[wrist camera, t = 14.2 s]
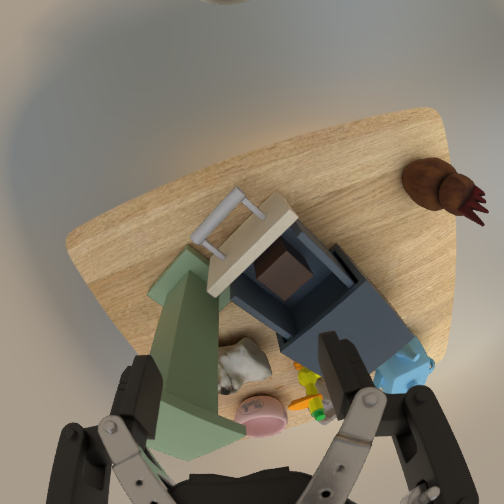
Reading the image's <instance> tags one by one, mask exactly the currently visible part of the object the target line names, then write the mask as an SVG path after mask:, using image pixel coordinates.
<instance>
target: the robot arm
mask: <svg viewBox="0 0 504 504" xmlns="http://www.w3.org/2000/svg"><path fill="white" fill-rule="evenodd" d="M318 362H319V366H320V369H321V372H322V375H323V378H324V381H325V384H326V387H327V390H328V392H329V395H330V398H331V401H332V404H333V407H334V410H335V413H336V416H337V419H338V421H339V420H342V419H345V420H344V422H343V424H342V426H341V428H340V430H339V432H338V434H336V436H335V437H334V439H333V441H332V443H331V445H330V447H329V449H328V450H327V452H326V454H325V456H324V458H323V460H322V461H321V463H320V465H319V467H318V468H317V470H316V472H315V473H314V475H313V476H312V475H309V474H306V473H302V472H296V471H289V467H288V466H287V467H281V468H275V469H267V470H262V471H259V472H256V473H253V474H250V475H247V476H244V477H240V478H234V477H228V476H222V475H216V474H190V475H189V479H188V480H185V481H182V482H180V483H178V484H176V483H174V481H173V480H172V479H171V478H170V477H169V476H168V475H167V474H166V473H165V471H164V470H163V469H162V467H161V466H160V464H159V463H158V462H157V460H156V459H155V457H154V456H153V455H152V453H151V452H150V450H149V449H148V447H147V446H146V442H147V439H148V440H155V435H156V427H157V421H158V414H159V408H160V401H161V395H162V389H163V378H162V375H161V373H160V371H159V369H158V367H157V365H156V363H155V361H154V359H153V357H152V356H151V355H137V356H135V358H134V361H133V364H132V366H128V367H127V368H126V369H125V370H124V372H123V373H122V375H121V378H120V384H119V385H118V388H117V389H118V390H117V391H116V395H115V398H114V402H113V405H112V409H111V413H110V415H109V416H106V417H105V418H103V419H102V420H101V421H100V423H99V425H97V426H93V427H88V428H83V427H82V426H80V425H79V424H78V423H69V424H67V425H66V426H65V427H64V428H63V429H62V431H61V435H60V439H59V442H58V447H57V450H56V455H55V459H54V463H53V467H52V473H51V477H50V482H49V488H48V494H47V500H46V504H108V494H109V484H110V475H111V466H112V463H113V464H114V465H113V466H112V469H113V471H114V473H115V475H116V477H117V479H118V480H119V482H120V483H121V486H122V487H123V489H124V491H125V492H126V494H127V495H128V497H129V499H130V500H131V502H132V503H133V504H356V503H355V502H353V501H351V500H350V499H348V496H349V494H350V492H351V490H352V488H353V486H354V484H355V482H356V480H357V478H358V475H359V474H360V471H361V469H362V467H363V465H364V463H365V460H366V458H367V455H368V453H369V451H370V449H371V446H372V442H373V439H374V437H377V436H392V439H393V442H394V445H395V448H396V451H397V454H398V457H399V460H400V463H401V466H402V469H403V472H404V475H405V479H406V482H407V486H408V489H409V492H408V493H407V494H406V495H405V496H404V497H403V498H402V500H401V502H400V504H479V497H478V494H477V491H476V488H475V485H474V482H473V480H472V477H471V475H470V472H469V469H468V467H467V464H466V462H465V459H464V457H463V454H462V452H461V450H460V447H459V445H458V443H457V440H456V438H455V436H454V434H453V432H452V430H451V427H450V425H449V423H448V421H447V419H446V417H445V415H444V413H443V411H442V409H441V406H440V405H439V402H438V400H437V399H436V397H435V395H434V393H433V391H432V390H431V389H430V388H429V387H427V386H424V385H415V386H413V387H411V388H410V389H408V391H407V392H406V393H399V394H388V393H384V392H383V391H382V390H380V389H378V388H376V386H375V385H374V383H373V381H372V379H371V377H370V375H369V373H368V371H367V369H366V367H365V365H364V363H363V361H362V359H361V357H360V355H359V353H358V351H357V349H356V347H355V345H354V344H353V343H352V342H351V341H349V340H348V339H347V338H346V339H342V340H339V338H338V336H337V334H336V332H335V330H333V331H328V332H323V333H319V335H318Z"/></svg>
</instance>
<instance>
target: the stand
mask: <svg viewBox="0 0 504 504" xmlns="http://www.w3.org/2000/svg"><path fill="white" fill-rule="evenodd" d="M209 264H210V261H209V260H208V259H207V258H205V257H204V256H203V255H201V254H200V253H199V252H198V251H196V250H195V249H194V248H193V247H191V246H190V245H189V244H187V246H186V247H185V248H184V249H183V250H182V251H181V252H180V253H179V255H178V256H177V257H176V258H175V259H174V260H173V262H172V263H171V264H170V265H169V266H168V267H167V268H166V270H165V271H164V272H163V273H162V274H161V275H160V277H159V278H158V279H157V280H156V281H155V283H154V284H153V285H152V286H151V287H150V289H149V291H148V293H147V296H148V297H150V298H151V299H153V300H154V301H156V302H157V303H158V304H160V305H161V306H163V309H162V312H161V316H160V319H159V322H158V326H157V329H156V333H155V337H154V340H153V344H152V348H151V351H150V355H151V356H152V357H153V359H154V361H155V363H156V365H157V367H158V369H159V371H160V373H161V375H162V378H163V389H162V395H161V401H160V408H159V414H158V421H157V427H156V435H155V440H148V439H147V442H146V446H147V447H149V448H152V449H154V450H157V451H160V452H163V453H165V454H168V455H171V456H174V457H176V458H179V459H182V460H185V461H190V460H192V459H195V458H197V457H200V456H202V455H205V454H207V453H210V452H212V451H215V450H217V449H219V448H221V447H224V446H226V445H228V444H230V443H233V442H235V441H237V440H239V439H241V438H243V437H245V436H247V434H246V426H245V425H242V424H240V423H237V422H234V421H232V420H229V419H227V418H224V417H222V416H219V415H218V332H219V312H220V311H221V310H222V309H223V308H224V307H225V306H226V305H227V304H228V303H229V302H231V300H230V285H229V286H228V287H227V288H226V289H224V290H223V291H222V292H221V293H220V294H219V295H218V296H217V297H216V298H215V297H213V296H212V295H210V294H209V293H208V292H207V283H208V273H209Z"/></svg>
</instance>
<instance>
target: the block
mask: <svg viewBox="0 0 504 504" xmlns="http://www.w3.org/2000/svg"><path fill="white" fill-rule="evenodd" d="M253 263H254V269H255V274H256V279H257V280H258V281H259V282H261V283H262V284H263V285H264V286H266V287H267V288H268V289H270V290H271V291H272V292H273V293H275V294H276V295H277V296H279V297H280V298H281V299H282V300H284V301H286V300H287V299H288V298H289V297H290V296H291V295H292V294H293V293H295V292H296V291H297V290H298V289H299V288H300V287H301V286H302V285H304V284H305V283H306V282H307V281H308V280H309V279H310V278H311V277H312V276H313V275H314V274H313V272H312V271H311V269H310V267H309V265H308V263H307V261H306V259H305V258H304V256H303V255H301V254H300V253H299V252H298V251H297V250H296V249H295V248H294V247H293V246H292V245H291V244H289V243H288V242H287V241H286V240H285V239H284V238H283V237H282V236H281V235H280V236H279V237H278V238H277V239H276V240H275V241H274V242H273V243H272V244H271V245H270V246H269V247H268V248H267V249H266V250H265V251H264V252H263V253H262V254H261V255H260V256H259V257H258V258H257V259H256V260H255V261H254V262H253Z"/></svg>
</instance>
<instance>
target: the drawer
mask: <svg viewBox="0 0 504 504" xmlns="http://www.w3.org/2000/svg"><path fill="white" fill-rule="evenodd" d="M240 202H242V203H243V204H244V205H245V206H246V207H247V208H249V209H250V210H251V211H252V212H253V213H252V214H251V215H250V216H249V217H248V218H247V220H246V221H245V222H244V223H243V224H242V225H241V226H240V227H239V228H238V229H237V230H236V231H235V232H234V233H233V234H232V235H231V236H230V237H229V238H228V239H227V240H226V241H225V242H224V243H223V244H222V245H221V246H220V247H219V248H217V247H215V246H214V245H213V244H212V243H210V242H209V241H208V240H207V239H206V238H207V237H208V236H209V235H210V234H211V233H212V232H213V230H214V229H215V228H216V227H217V226H218V225H219V224H220V223H221V222H222V221H223V220H224V219H225V218H226V217H227V216H228V215H229V213H230V212H231V211H232V210H233V209H234V208H235V207H236V206H237V205H238V204H239V203H240ZM298 218H299V217H298V216H297V214H296V213H295V211H294V210H293V209H292V207H291V206H290V205H289V204H288V202H287V201H286V200H285V198H284V197H283V196H282V195H281V194H280V193H279V192H278V191H277V190H275V191H274V192H273V193H272V194H271V195H270V196H269V197H268V198H267V199H266V200H265V201H264V202H263V203H262V204H261V205H260V206H259V207H258V208H257V207H256V206H255V205H254V204H253V203H252V202H251V201H250V200H249V199H247V198H246V194H245V193H244V192H243V191H242V190H241V189H240V188H239V187H237V186H235V188H234V189H233V190H232V191H231V192H230V193H229V194H228V195H227V196H226V197H225V198H224V199H223V200H222V201H221V202H220V203H219V205H218V206H217V207H216V208H215V209H214V210H213V211H212V212H211V213H210V214H209V215H208V217H207V218H206V219H205V220H204V221H203V222H202V223H201V224H200V225H199V226H198V228H197V229H196V230H195V231H194V232H193V233H192V234H191V236H190V238H191V240H192V241H193V242H194V243H195V244H197V245H201V243H202V245H203V246H204V247H205V248H207V249H208V250H209V251H210V252H212V253H213V255H212V256H211V257H210V264H209V273H208V283H207V292H208V293H209V294H210V295H212V296H213V297H215V298H216V297H217V296H218V295H219V294H220V293H221V292H222V291H223V290H224V289H226V288H227V287H228V286H229V285H230V300H231V301H232V302H234V303H235V304H236V305H238V306H239V307H241V308H242V309H243V310H245V311H246V312H248V313H249V314H251V315H252V316H253V317H255V318H256V319H258V320H259V321H261V322H262V323H264V324H265V325H266V326H268V327H269V328H271V329H272V330H274V331H275V332H277V333H278V334H280V335H281V336H283V337H284V338H286V339H287V340H290V339H291V338H293V337H294V336H295V335H296V334H298V333H299V332H300V331H301V330H303V329H304V328H305V327H306V326H308V325H309V324H310V323H311V322H312V321H314V320H315V319H316V318H317V317H319V316H320V315H321V314H322V313H323V312H324V311H326V310H327V309H328V308H329V307H330V306H331V305H333V304H334V303H335V302H336V301H337V300H338V299H340V298H341V297H342V296H343V295H344V294H345V293H346V292H348V291H349V290H350V289H351V288H352V287H353V286H354V285H355V284H356V282H355V281H354V279H353V278H352V277H351V275H350V274H349V272H348V271H347V270H346V268H345V267H344V266H343V264H342V263H341V262H340V261H339V260H338V259H337V258H336V257H335V256H334V255H333V254H332V253H331V252H330V251H329V250H328V249H327V248H326V247H325V246H324V245H323V244H322V243H321V242H320V241H319V240H318V239H317V238H316V237H315V236H314V235H313V234H312V233H311V232H310V231H309V230H308V229H307V228H306V227H305V226H304V225H303V224H302V223H301V222H300V221H299V220H298ZM280 235H281V236H282V237H283V238H284V239H285V240H286V241H287V242H288V243H289V244H291V245H292V246H293V247H294V248H295V249H296V250H297V251H298V252H299V253H300V254H301V255H303V256H304V258H305V259H306V261H307V263H308V265H309V267H310V269H311V271H312V272H313V274H314V275H313V276H312V277H311V278H310V279H309V280H308V281H307V282H306V283H305V284H304V285H302V286H301V287H300V288H299V289H298V290H297V291H296V292H295V293H293V294H292V295H291V296H290V297H289V298H288V299H287V300H286V301H284V300H282V299H281V298H280V297H279V296H277V295H276V294H275V293H273V292H272V291H271V290H270V289H268V288H267V287H266V286H264V285H263V284H262V283H261V282H259V281H258V280H257V279H256V274H255V269H254V263H253V262H254V261H255V260H256V259H257V258H258V257H259V256H260V255H261V254H262V253H263V252H264V251H265V250H266V249H267V248H268V247H269V246H270V245H271V244H272V243H273V242H274V241H275V240H276V239H277V238H278V237H279V236H280Z"/></svg>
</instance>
